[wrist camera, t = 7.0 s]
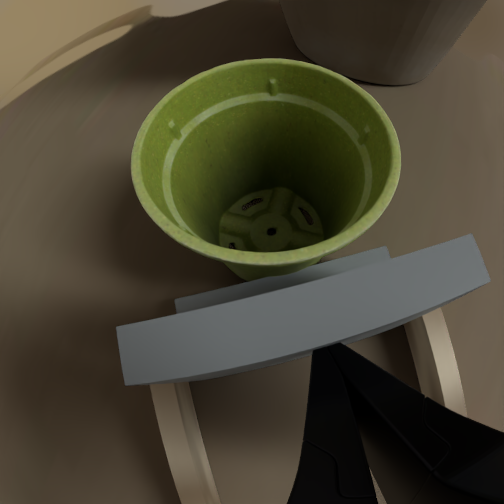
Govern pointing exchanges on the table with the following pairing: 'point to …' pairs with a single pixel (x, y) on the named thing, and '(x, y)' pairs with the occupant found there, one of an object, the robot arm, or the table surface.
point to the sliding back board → (297, 313)
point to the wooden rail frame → (189, 436)
